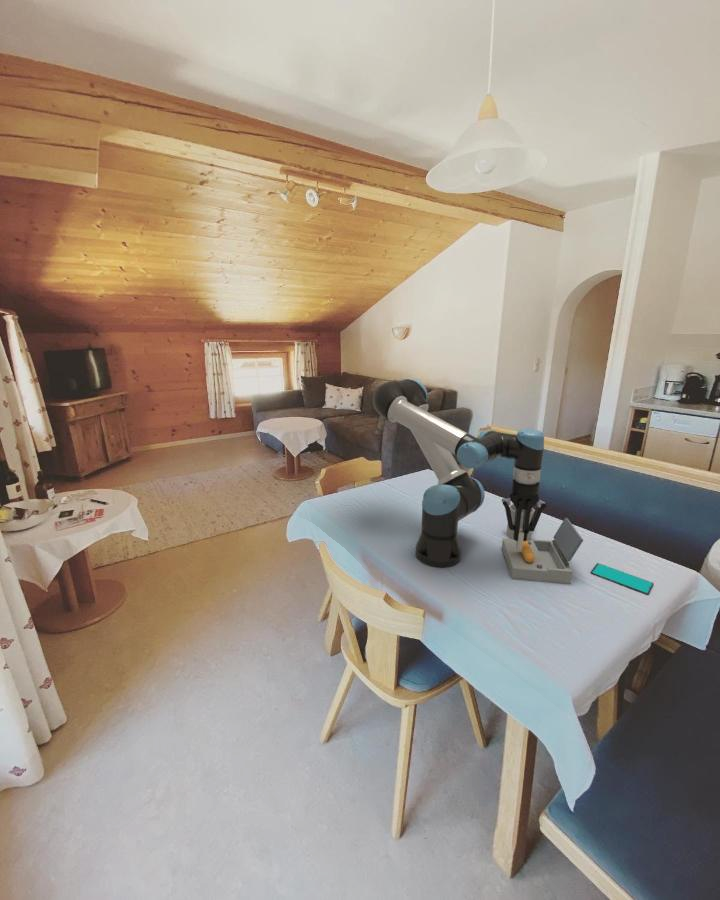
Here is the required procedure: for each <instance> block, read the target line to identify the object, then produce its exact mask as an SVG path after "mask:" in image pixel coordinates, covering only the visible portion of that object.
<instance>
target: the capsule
mask: <svg viewBox="0 0 720 900" xmlns="http://www.w3.org/2000/svg"><path fill="white" fill-rule="evenodd" d="M522 554H523V557H524V559H525V561H527V562H533V561H534V558H535V557H534V555H533V552H532V550H531V548H530V546H529V544H528V542H527V540H526V541H523V548H522Z"/></svg>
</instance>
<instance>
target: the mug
mask: <svg viewBox="0 0 720 900" xmlns="http://www.w3.org/2000/svg"><path fill="white" fill-rule="evenodd" d="M509 507H510V511H511V517H512V522H513V525H514V521H515V511H516V507H515V506H514V504H513V503H511V505H510V506H509ZM535 509H536V508H535ZM535 509H534V507H532V508H531V513H530V519H529V524H530V521H531V519H532V516H533V514H534V511H535ZM523 517H524V509H522V513H521V520H520V529H522V530H523V528H522V527H523ZM506 526H507V527H506V535H507V537H509V539H514V538H513V535H514V530H510V529H509V526H508V524H506ZM532 534H533V531H529V533H528V534H527V540H529V541H531V540H530V539H531V538H532Z"/></svg>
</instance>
